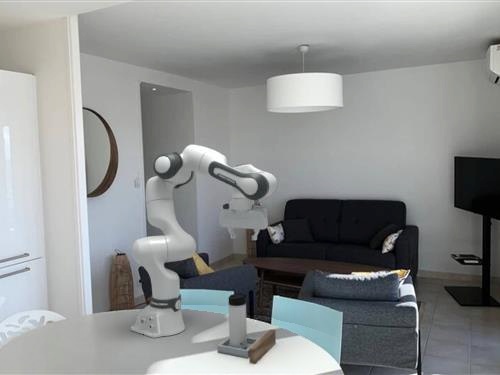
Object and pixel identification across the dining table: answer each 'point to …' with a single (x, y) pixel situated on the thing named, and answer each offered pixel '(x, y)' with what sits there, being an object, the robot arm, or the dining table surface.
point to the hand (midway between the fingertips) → (243, 239)
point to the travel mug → (237, 321)
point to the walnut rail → (262, 346)
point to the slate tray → (233, 351)
